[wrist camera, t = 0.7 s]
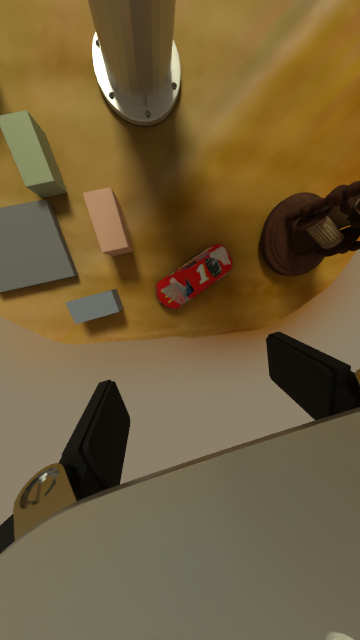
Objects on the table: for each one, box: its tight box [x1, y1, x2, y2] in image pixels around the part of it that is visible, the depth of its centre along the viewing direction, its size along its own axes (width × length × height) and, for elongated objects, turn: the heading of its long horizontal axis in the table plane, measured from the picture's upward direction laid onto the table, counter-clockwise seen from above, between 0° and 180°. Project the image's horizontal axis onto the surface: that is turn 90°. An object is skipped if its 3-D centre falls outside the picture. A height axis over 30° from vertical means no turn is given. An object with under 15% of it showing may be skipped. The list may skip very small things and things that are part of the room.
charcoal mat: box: [0, 200, 78, 293], centre depth 29 cm, size 12×14×2 cm
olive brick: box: [0, 110, 67, 198], centre depth 25 cm, size 8×4×4 cm, turn 14°
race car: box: [156, 244, 233, 309], centre depth 32 cm, size 16×7×5 cm, turn 122°
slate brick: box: [66, 289, 123, 324], centre depth 32 cm, size 8×4×4 cm, turn 105°
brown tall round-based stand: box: [259, 181, 360, 276], centre depth 26 cm, size 15×15×20 cm
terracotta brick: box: [83, 187, 133, 256], centre depth 28 cm, size 8×4×6 cm, turn 13°
